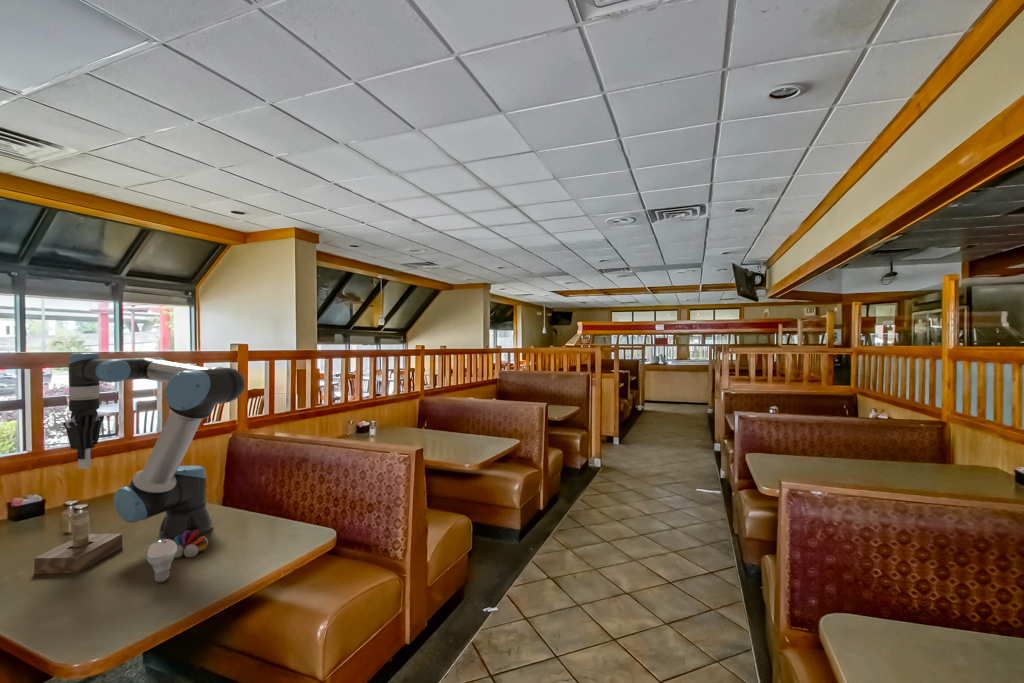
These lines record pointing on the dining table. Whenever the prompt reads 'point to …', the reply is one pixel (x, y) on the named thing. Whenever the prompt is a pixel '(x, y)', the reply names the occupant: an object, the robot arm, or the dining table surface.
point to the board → (77, 555)
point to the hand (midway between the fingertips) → (84, 468)
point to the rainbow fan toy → (190, 544)
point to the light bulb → (161, 557)
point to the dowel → (80, 530)
